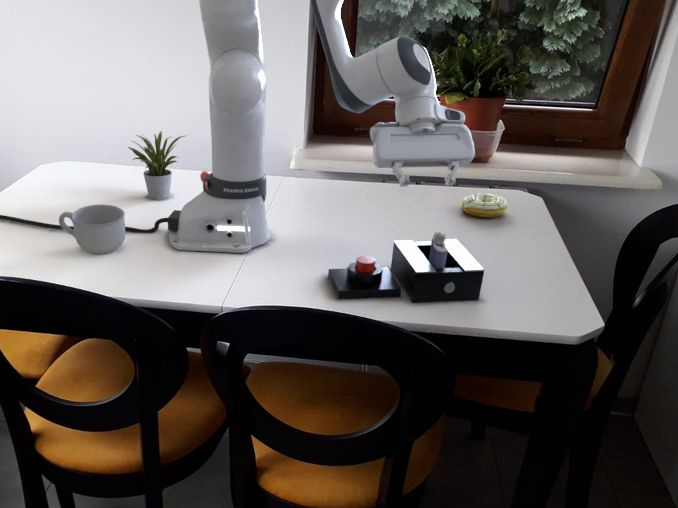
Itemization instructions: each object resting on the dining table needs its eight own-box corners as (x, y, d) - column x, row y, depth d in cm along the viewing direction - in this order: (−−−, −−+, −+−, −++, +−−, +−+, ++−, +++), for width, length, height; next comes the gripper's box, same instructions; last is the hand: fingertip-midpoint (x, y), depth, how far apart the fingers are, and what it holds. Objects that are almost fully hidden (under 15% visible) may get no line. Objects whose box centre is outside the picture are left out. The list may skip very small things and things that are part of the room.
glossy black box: (413, 304, 130) (417, 273, 127) (390, 269, 144) (393, 240, 140) (487, 302, 132) (493, 271, 129) (458, 267, 145) (462, 238, 142)
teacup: (136, 243, 153) (133, 208, 148) (110, 262, 144) (106, 225, 140) (80, 234, 156) (76, 199, 152) (52, 252, 147) (46, 215, 143)
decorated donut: (463, 203, 181) (465, 188, 179) (506, 208, 178) (509, 194, 176) (458, 216, 172) (461, 201, 170) (504, 221, 169) (507, 206, 167)
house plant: (176, 183, 189) (173, 121, 181) (199, 198, 179) (197, 133, 171) (126, 191, 182) (120, 127, 174) (147, 207, 172) (142, 140, 164)
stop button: (357, 274, 133) (358, 263, 132) (353, 266, 136) (354, 256, 135) (376, 273, 133) (377, 263, 132) (371, 265, 136) (372, 255, 135)
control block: (338, 299, 131) (339, 280, 129) (328, 277, 140) (329, 258, 138) (400, 297, 133) (402, 278, 131) (386, 275, 141) (388, 256, 139)
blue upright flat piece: (441, 295, 134) (449, 242, 129) (425, 294, 134) (433, 241, 129) (438, 275, 142) (446, 225, 136) (424, 274, 142) (431, 223, 137)
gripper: (372, 114, 138) (380, 178, 134) (472, 112, 140) (482, 175, 137) (365, 131, 144) (372, 193, 140) (461, 130, 146) (470, 190, 143)
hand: (427, 184), depth 139 cm, fingers open, 8 cm apart
